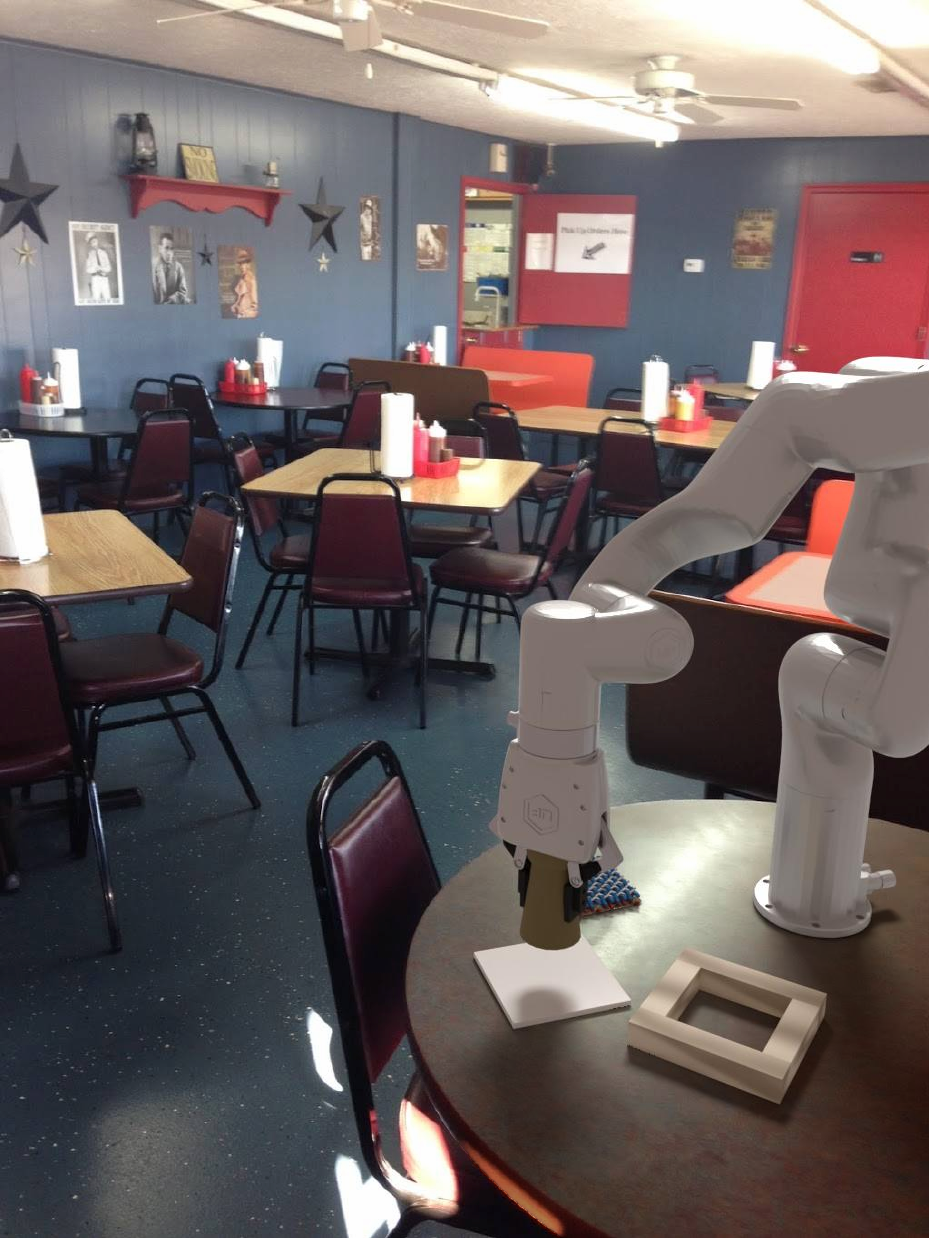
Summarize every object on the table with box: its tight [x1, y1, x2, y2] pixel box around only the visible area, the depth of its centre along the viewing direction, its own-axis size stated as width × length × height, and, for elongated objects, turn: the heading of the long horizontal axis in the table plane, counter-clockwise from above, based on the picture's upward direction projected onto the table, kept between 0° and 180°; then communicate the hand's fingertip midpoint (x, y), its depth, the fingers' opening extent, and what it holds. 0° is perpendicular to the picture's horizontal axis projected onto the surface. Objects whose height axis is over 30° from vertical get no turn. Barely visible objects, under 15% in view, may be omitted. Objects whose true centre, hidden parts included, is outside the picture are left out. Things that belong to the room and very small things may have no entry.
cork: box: [519, 849, 582, 950], centre depth 105 cm, size 6×6×11 cm
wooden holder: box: [626, 947, 828, 1105], centre depth 100 cm, size 14×14×2 cm
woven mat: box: [579, 855, 643, 917], centre depth 124 cm, size 10×11×2 cm
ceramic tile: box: [473, 932, 632, 1030], centre depth 108 cm, size 12×12×1 cm
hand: (551, 906), depth 106 cm, fingers closed on cork, 4 cm apart
